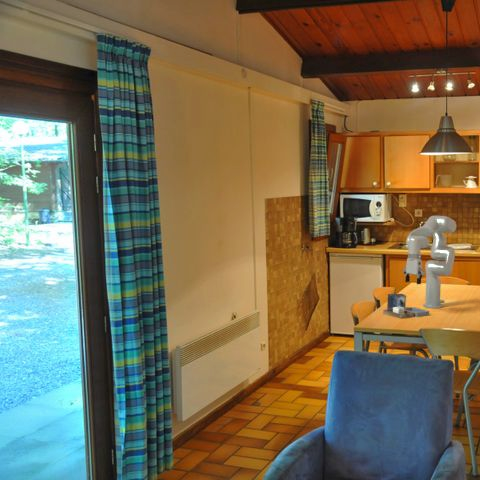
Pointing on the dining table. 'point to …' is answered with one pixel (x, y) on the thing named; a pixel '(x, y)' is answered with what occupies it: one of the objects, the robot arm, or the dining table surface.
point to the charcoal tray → (417, 311)
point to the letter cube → (398, 310)
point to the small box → (396, 300)
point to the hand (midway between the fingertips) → (413, 283)
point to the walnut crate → (401, 316)
